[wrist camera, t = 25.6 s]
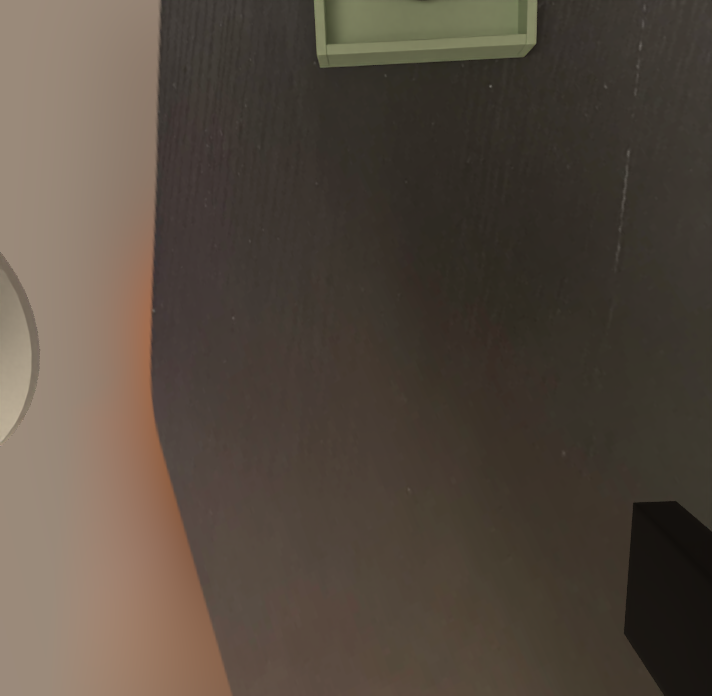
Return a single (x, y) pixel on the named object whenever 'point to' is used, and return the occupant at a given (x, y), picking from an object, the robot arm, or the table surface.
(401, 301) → the table surface
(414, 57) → the tray
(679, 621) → the robot arm
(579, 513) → the table surface
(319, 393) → the table surface
